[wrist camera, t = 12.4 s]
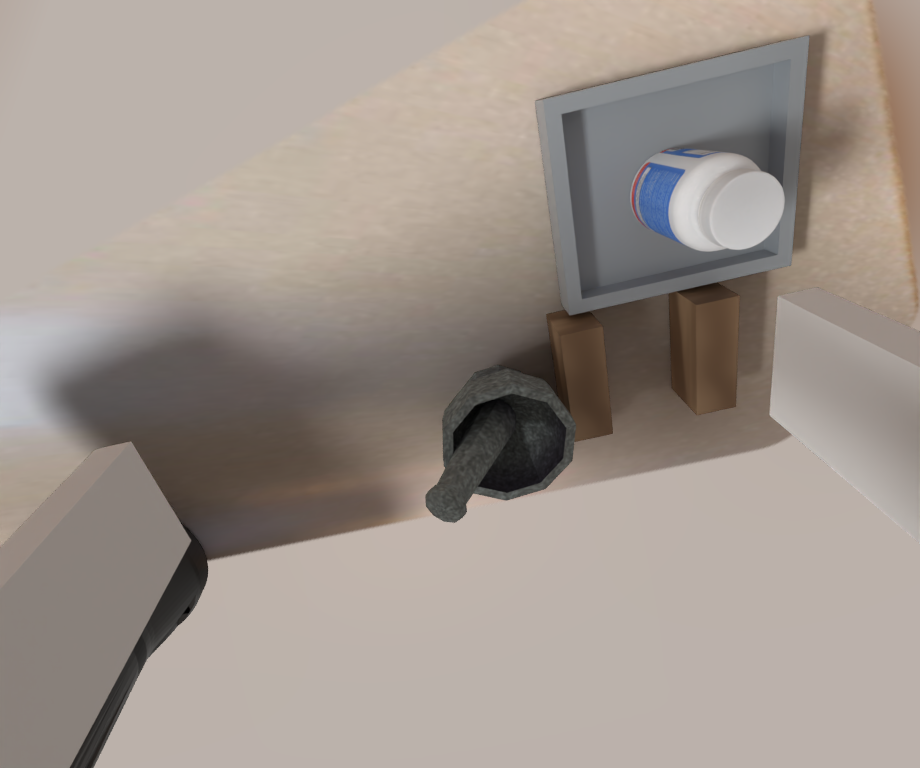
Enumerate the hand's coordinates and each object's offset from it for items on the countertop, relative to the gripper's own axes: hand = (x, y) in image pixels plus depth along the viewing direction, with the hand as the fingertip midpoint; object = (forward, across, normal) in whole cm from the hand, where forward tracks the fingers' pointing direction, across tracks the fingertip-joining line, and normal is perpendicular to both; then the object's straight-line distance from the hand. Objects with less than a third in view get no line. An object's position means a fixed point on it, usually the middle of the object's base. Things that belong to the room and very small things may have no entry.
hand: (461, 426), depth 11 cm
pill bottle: (+28, +16, -2) cm, 32 cm away
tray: (+29, +16, -2) cm, 33 cm away
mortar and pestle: (+29, +1, -16) cm, 33 cm away
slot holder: (+29, +13, -14) cm, 34 cm away
